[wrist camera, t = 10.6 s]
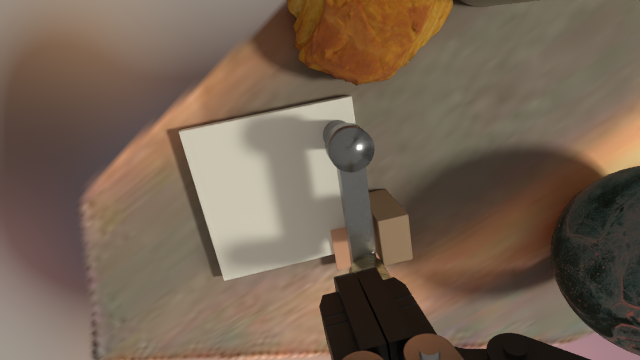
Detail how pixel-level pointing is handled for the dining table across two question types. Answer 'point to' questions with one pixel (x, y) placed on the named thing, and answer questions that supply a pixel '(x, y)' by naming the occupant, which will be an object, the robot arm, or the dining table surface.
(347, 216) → the bar
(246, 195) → the plate
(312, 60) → the croissant
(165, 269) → the dining table surface
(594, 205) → the decorative sphere
